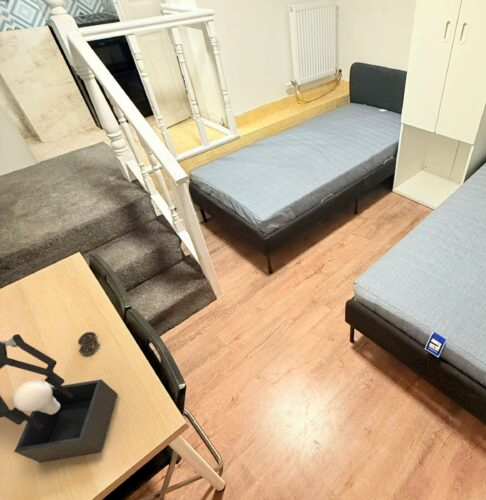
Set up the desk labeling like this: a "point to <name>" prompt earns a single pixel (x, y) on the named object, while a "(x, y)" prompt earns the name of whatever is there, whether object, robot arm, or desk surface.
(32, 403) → the lightbulb
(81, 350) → the corroded twin loop
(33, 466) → the desk surface
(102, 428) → the bin
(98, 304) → the desk surface
